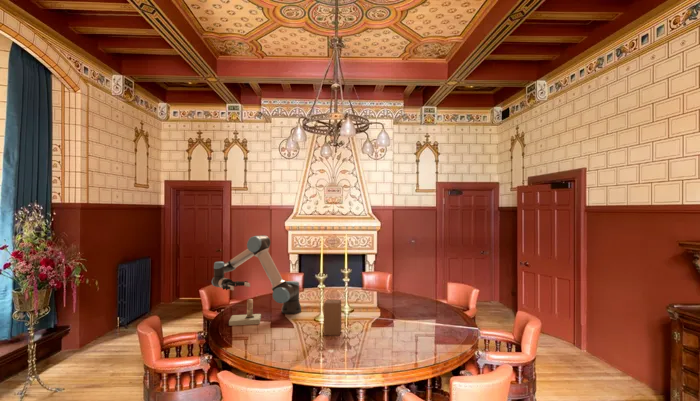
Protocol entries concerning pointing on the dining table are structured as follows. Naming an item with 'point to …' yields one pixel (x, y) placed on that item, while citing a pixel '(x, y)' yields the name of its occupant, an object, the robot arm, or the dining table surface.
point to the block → (332, 317)
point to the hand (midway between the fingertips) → (241, 286)
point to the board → (244, 320)
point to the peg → (249, 308)
